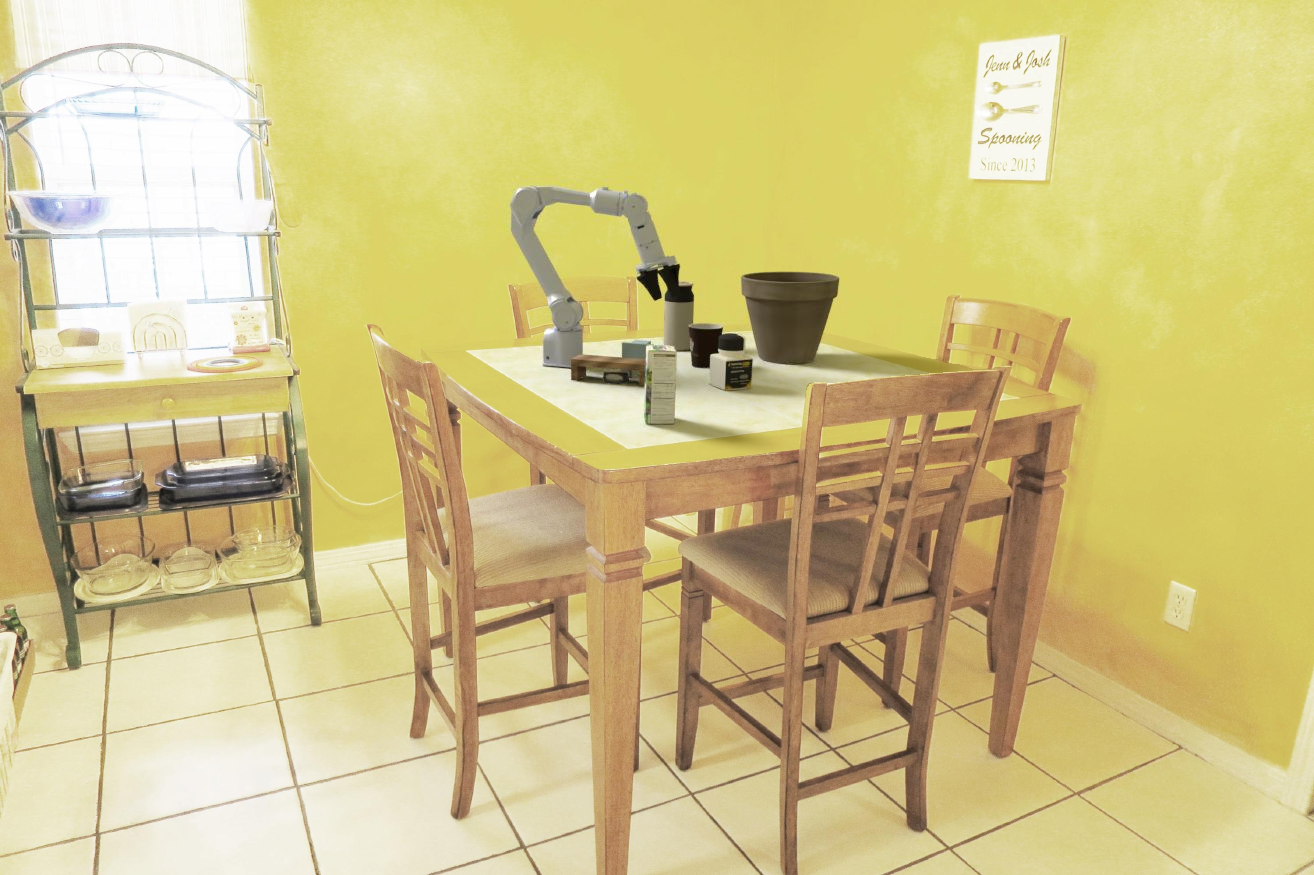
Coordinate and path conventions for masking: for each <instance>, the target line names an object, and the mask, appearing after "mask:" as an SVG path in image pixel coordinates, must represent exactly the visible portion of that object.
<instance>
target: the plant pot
mask: <svg viewBox="0 0 1314 875" xmlns="http://www.w3.org/2000/svg"><path fill="white" fill-rule="evenodd" d="M740 284H741V285H740V286H741V287H740V288H741V289H740V290H741V295H742V296H743V297H744V298H745V303H746V308H747V312H748V313H747V314H748V317H749V322H750V325H751V330H752V331H751V332H752V335H753V339H754V343H755V347H756V351H757V354H758V357H759V359H761V360H762V361H765V362H769V363H775V364H786V365H787V364H788V365H789V364H790V365H791V364H795V365H796V364H805V363H811V362H813V361H815V358H816V355H817V353H818V350H819V348H820V344H821V341H822V337H823V334H824V331H825V328H826V325H827V322H828V320H829V319H828V318H829V316H830V312H831V310H832V307H833V306H832V305H833V302H834V299H836V298H837V297H838V293H839V285H840V277H839V276H837V275H834V274H830V273H823V272H822V273H821V272H809V271H763V272H760V271H759V272H752V273H744V274H743V275H742V274H741V277H740Z"/></svg>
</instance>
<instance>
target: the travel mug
mask: <svg viewBox="0 0 1314 875" xmlns="http://www.w3.org/2000/svg"><path fill="white" fill-rule="evenodd" d="M693 286H694V282H692V281H686V280H683V281H682V280H679V291H680V294H679V295H677V296H675V297H671V295H670V293H669V291H668V289H666V291H665V294H664V306H663V307H664V310H663V311H664V312H663V345H668V346H674V347H675V349H676V351H677V352H684V351H685V352H686V351H691V349H690V337H689V325H690V324H694V316H695V315H694V311H695V310H694V309H695V308H694V307H695V306H694V305H695V293H694V292H693Z"/></svg>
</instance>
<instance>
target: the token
mask: <svg viewBox="0 0 1314 875" xmlns="http://www.w3.org/2000/svg"><path fill="white" fill-rule="evenodd" d="M602 374H603V375H602V376H603V383H605V384H610V385H623V384H624V385H625V384H628V383H629V382H630V378H629V371H627V370H622V369H610V368H608V369H606V370H605V369H604V371H603V373H602Z"/></svg>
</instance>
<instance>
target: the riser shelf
mask: <svg viewBox="0 0 1314 875" xmlns="http://www.w3.org/2000/svg"><path fill="white" fill-rule="evenodd" d="M645 366H646V359H636V358H623V357H622V356H609V355H608V356H606V355H597V354H596V355H593V354H584V353H583V354H580V355H578V356H576V357H574V358H572V359H571V368H570V381H575V382H578V381H580V380H582V378H585V377H586V376H587V367H589V368H598V369H599V368H600V369H601V368H602V369H623V370H635V371H640V373H639V374H638V376H639V380H638V381H639V385H638V386H639V387H645Z"/></svg>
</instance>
